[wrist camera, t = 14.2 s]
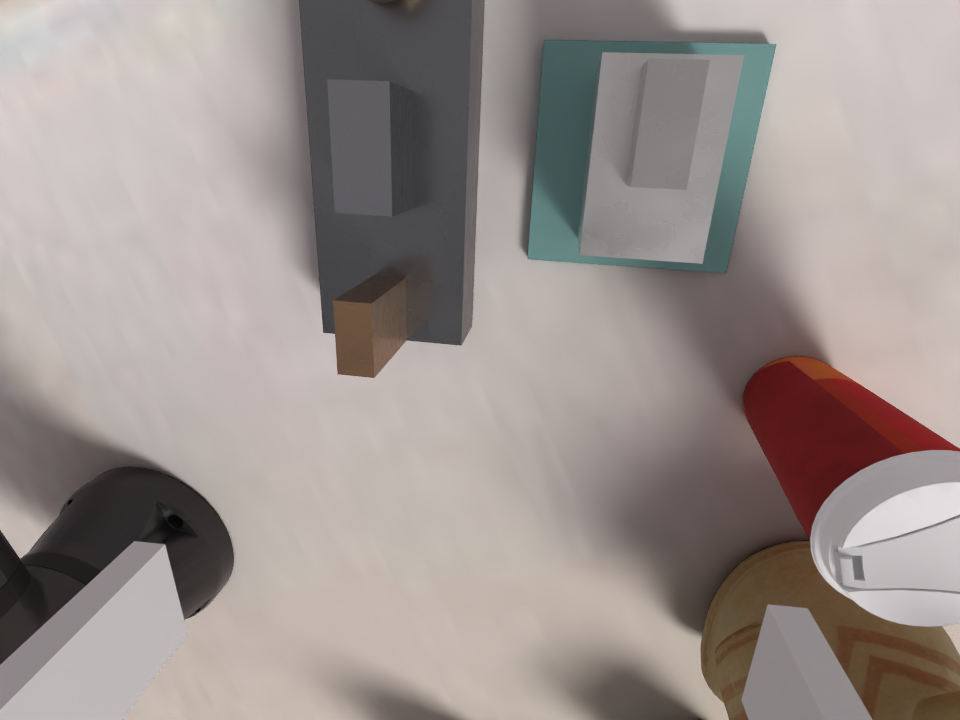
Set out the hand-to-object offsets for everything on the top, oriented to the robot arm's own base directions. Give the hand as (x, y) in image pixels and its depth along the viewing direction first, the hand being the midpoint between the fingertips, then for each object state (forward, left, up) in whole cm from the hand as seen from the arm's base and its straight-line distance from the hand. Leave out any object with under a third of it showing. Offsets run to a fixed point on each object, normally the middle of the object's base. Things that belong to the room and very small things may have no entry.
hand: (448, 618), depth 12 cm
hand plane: (-8, +9, -25) cm, 28 cm away
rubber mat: (+6, +9, -25) cm, 28 cm away
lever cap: (+6, +9, -25) cm, 27 cm away
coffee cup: (+18, -5, -26) cm, 32 cm away
